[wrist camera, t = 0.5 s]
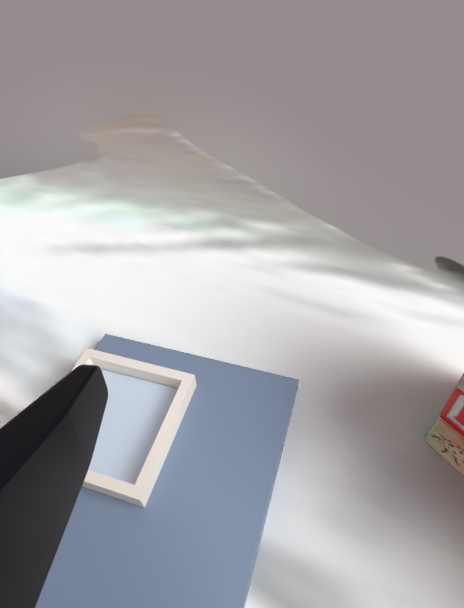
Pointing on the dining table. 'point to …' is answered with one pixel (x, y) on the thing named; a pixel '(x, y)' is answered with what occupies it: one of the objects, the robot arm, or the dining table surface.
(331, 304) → the dining table surface
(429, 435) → the stack of blocks
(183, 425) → the board
